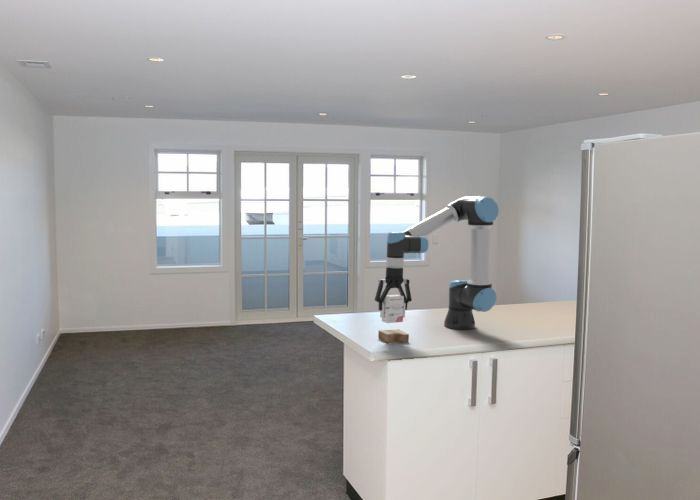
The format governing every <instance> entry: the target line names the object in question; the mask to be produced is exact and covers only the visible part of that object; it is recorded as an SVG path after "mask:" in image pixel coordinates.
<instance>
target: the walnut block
mask: <svg viewBox="0 0 700 500" xmlns="http://www.w3.org/2000/svg"><path fill="white" fill-rule="evenodd" d="M377 337H378V338H379V339H378V338H377V339H378V340H380V339H381V340H380V341H382V340H383V341H382V342H383V343H386V344H388V343H391V344H402V343H403V344H404V342H405V343H406V344H407V343H409V339H410V338H409V337H410V334H409V333H407V332H405V331H403V330H401V329H381V330H378V336H377Z"/></svg>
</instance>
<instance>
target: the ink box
mask: <svg viewBox="0 0 700 500" xmlns="http://www.w3.org/2000/svg"><path fill="white" fill-rule="evenodd" d="M383 303H384V318H381V322H383V323H386V324H395V323H403V321H404V318H403V306H404V296H402V295H400V294H390V295H389V294H387V296H386V297H385V299H384V301H383Z"/></svg>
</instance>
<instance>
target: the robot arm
mask: <svg viewBox="0 0 700 500" xmlns="http://www.w3.org/2000/svg"><path fill="white" fill-rule="evenodd" d="M499 211H500V209H499V206H498V203H497V202H496V201H495V200H494V199H493V198H492V197H491V196H490V197H489V196H486V195H464V196H461V197H459V198H457V199H456V200H454V201H451V202H450V203H448V204H446V205H445V206H444V208H443V209H441V210H440V211H437V212H436V213H434V214H432V215H430V216H428V217H427V218H424V219H423V220H421V221H419V222H418V223H416V224H414V225H412V226H409V227H408V228H406V229H405V230H402V231H389V232H388V233H387V240H386V268H385V278H383V279H381V278H379V279H378V286H377V290H376V294H375V297H374V301H375V302H377V303H378V310H379V311H380V312H379V318H381V319H382V318H384V303H383V301H384V299H385V297H386V296H387V295H389V291H390V290H391V289H397V290H398V293H399V295H402V296H404V306H403V319H404V318H406V310H408V304H409V302H412V300H413V299H412V295H411V288H410V279H408V278H404V277H403V276H404V268H403V267H404V262H405V261H404V260H405V259H404V258H405V254H425V253H426V252H427V251H428V249H429V244H430V243H429V240H428V239H427V237H429V236H430V235H432V234H433V233H436V232H437V231H439V230H441V229H443V228H444V227H446V226H448V225H450V224H451V223H453V224H456V223H458V222H460V221H467V225H468V227H470V265H469V266H470V268H469V269H470V271H469V272H470V273H469V275H470V276H469V279H464V280H461V279H460V280H459V279H458V280H451V281H450V283H449V288H448V310H447V313H446V315H445V319H444V320H443V321H444V323H443V326H444V327H445V328H448V329H455V330H472V329H475V328H476V322H475V316H474V313H473V310H474V311H476V312H480V313H481V312H483V313H486V312H488V311H490V310H492V308H493V307H494V306H495V304H496V301H497V298H498V297H497V293H496V291H495V290H494V289H493V284H492V281H491V280H490V277H489V276H490V274H489V273H490V272H489V271H490V232H491V231H490V229H492V227H493V226H494V222H495V221H496V219H497V218H498V215H499ZM385 284H386V285H385ZM402 284H404V289H405V292H404V290H403V286H402ZM384 285H385V288H384ZM383 288H384V290H383ZM382 291H383V292H382Z"/></svg>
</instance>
